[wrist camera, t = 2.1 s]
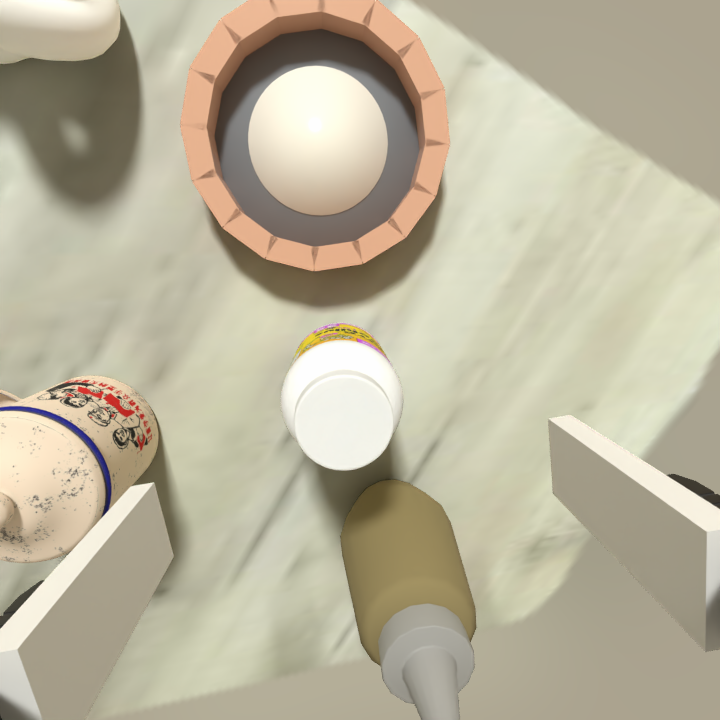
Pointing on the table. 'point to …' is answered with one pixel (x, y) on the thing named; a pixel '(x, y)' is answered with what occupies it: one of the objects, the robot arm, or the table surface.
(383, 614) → the squeeze bottle
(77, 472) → the teacup with lid
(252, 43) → the saucer tray
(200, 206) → the table surface
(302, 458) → the table surface
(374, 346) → the supplement bottle
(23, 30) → the white decorative knot
